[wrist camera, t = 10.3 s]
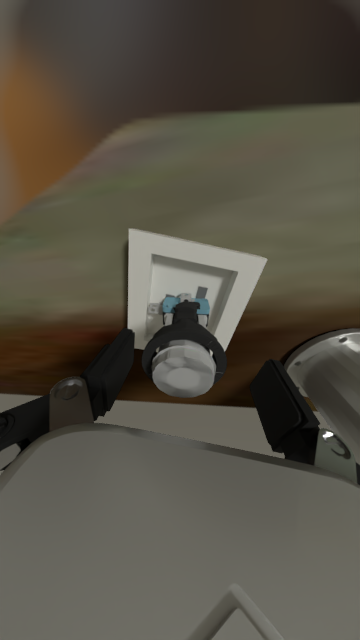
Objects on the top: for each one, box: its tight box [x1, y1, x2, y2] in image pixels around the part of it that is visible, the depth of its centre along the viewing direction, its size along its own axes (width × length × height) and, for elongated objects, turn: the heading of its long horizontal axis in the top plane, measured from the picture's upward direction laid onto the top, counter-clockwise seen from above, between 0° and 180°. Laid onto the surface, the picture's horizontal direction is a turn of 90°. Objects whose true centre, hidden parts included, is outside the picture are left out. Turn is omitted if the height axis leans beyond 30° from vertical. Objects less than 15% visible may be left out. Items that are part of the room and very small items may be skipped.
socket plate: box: [128, 229, 267, 357], centre depth 17 cm, size 12×13×2 cm
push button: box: [142, 293, 227, 398], centre depth 13 cm, size 7×5×10 cm
